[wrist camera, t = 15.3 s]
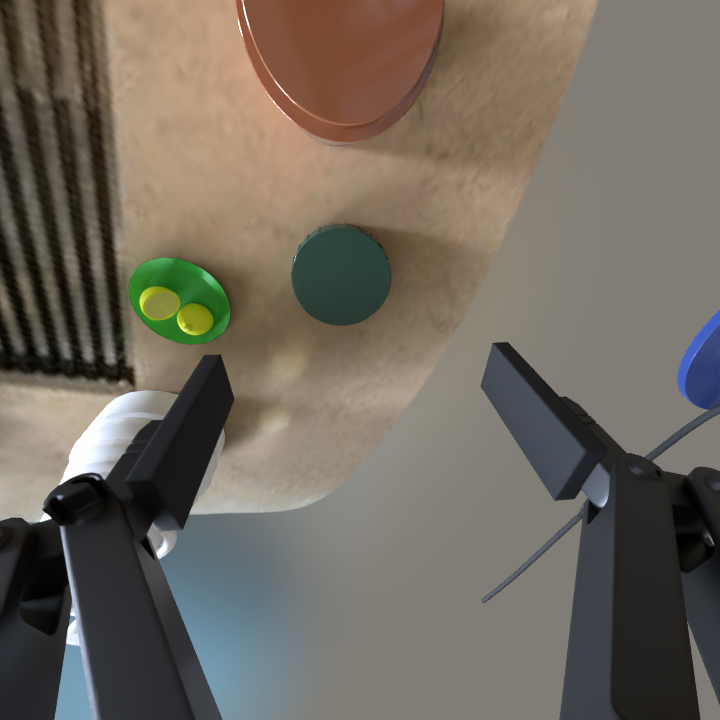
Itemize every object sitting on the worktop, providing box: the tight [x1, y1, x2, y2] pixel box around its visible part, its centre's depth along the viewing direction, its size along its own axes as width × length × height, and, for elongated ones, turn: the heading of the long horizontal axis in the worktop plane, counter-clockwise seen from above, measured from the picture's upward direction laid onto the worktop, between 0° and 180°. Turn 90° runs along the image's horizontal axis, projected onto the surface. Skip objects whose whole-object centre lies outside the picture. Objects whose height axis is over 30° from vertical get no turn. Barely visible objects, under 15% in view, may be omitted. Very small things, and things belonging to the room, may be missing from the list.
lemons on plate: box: [129, 258, 230, 344], centre depth 26 cm, size 8×8×3 cm
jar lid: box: [291, 223, 391, 325], centre depth 26 cm, size 8×8×2 cm
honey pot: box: [41, 390, 225, 646], centre depth 28 cm, size 13×13×18 cm
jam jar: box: [235, 0, 445, 146], centre depth 15 cm, size 8×8×12 cm
